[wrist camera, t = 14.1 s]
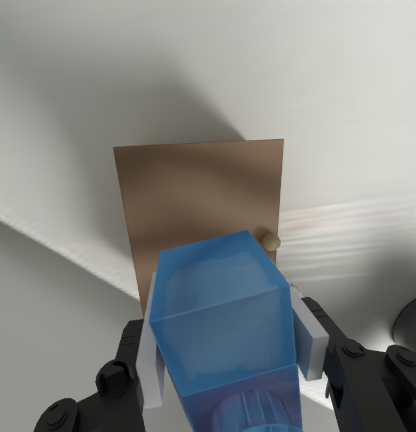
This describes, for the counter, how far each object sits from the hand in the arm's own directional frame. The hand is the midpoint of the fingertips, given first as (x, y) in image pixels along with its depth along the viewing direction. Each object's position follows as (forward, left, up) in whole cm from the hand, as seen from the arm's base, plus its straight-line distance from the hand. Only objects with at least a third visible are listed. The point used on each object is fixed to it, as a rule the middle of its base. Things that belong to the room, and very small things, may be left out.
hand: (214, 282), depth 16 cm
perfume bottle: (0, 0, -1) cm, 1 cm away
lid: (0, 0, -7) cm, 7 cm away
